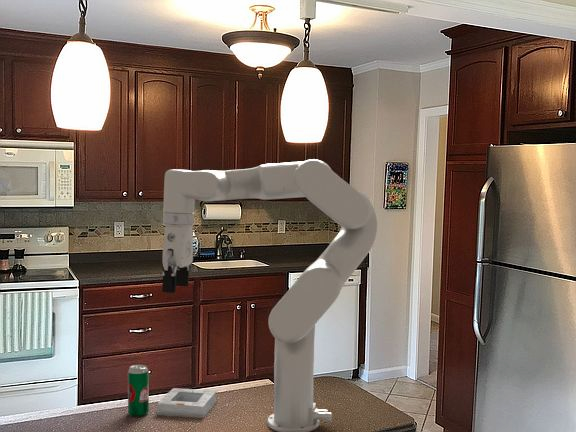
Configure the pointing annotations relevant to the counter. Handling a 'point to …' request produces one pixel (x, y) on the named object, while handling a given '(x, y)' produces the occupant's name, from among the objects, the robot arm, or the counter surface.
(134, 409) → the soda can
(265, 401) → the counter surface
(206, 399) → the plate
